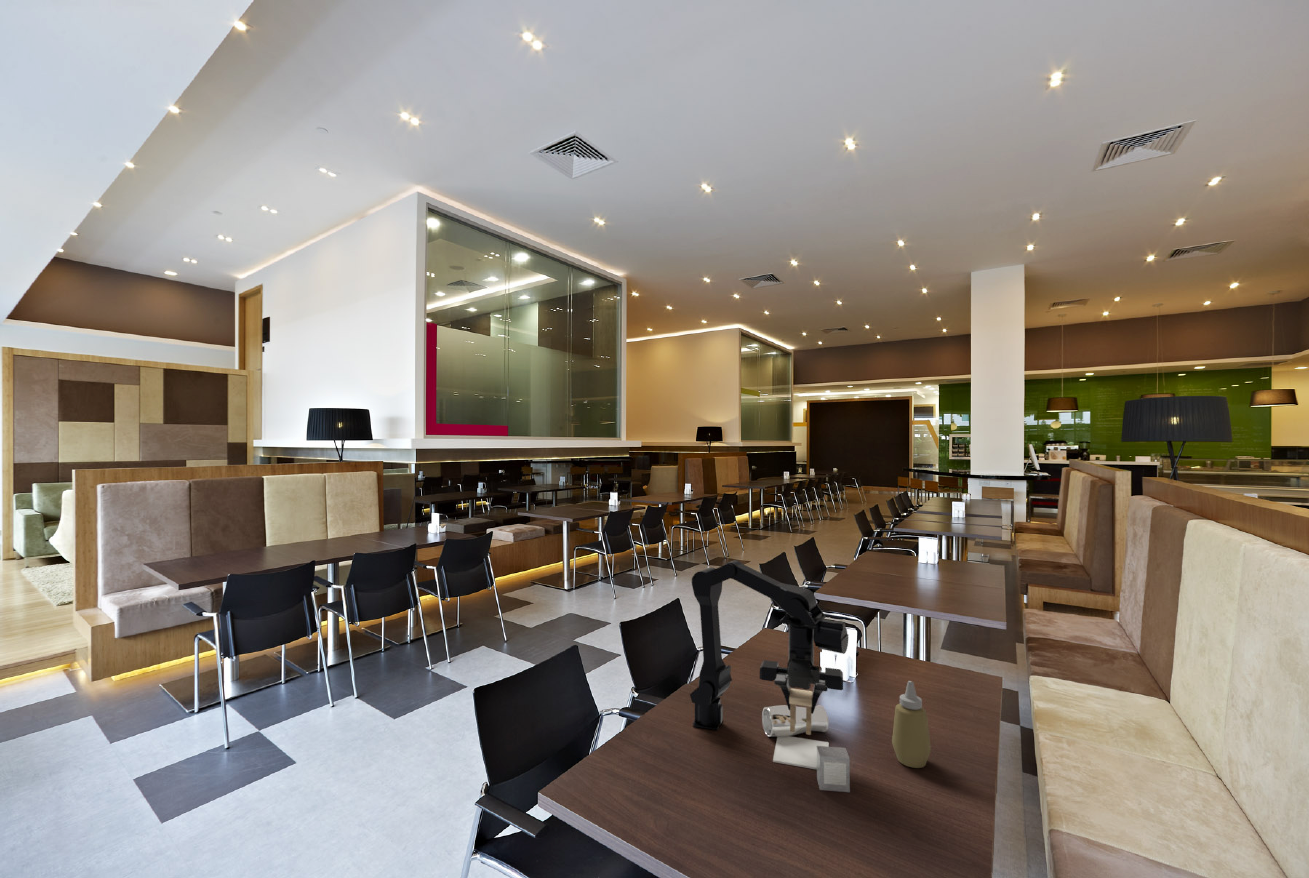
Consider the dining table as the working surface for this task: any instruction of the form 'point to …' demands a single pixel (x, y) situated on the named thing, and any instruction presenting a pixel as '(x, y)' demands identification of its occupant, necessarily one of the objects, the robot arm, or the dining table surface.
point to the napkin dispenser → (833, 769)
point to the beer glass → (779, 720)
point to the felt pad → (797, 751)
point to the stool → (805, 700)
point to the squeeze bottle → (911, 730)
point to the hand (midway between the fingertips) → (801, 711)
